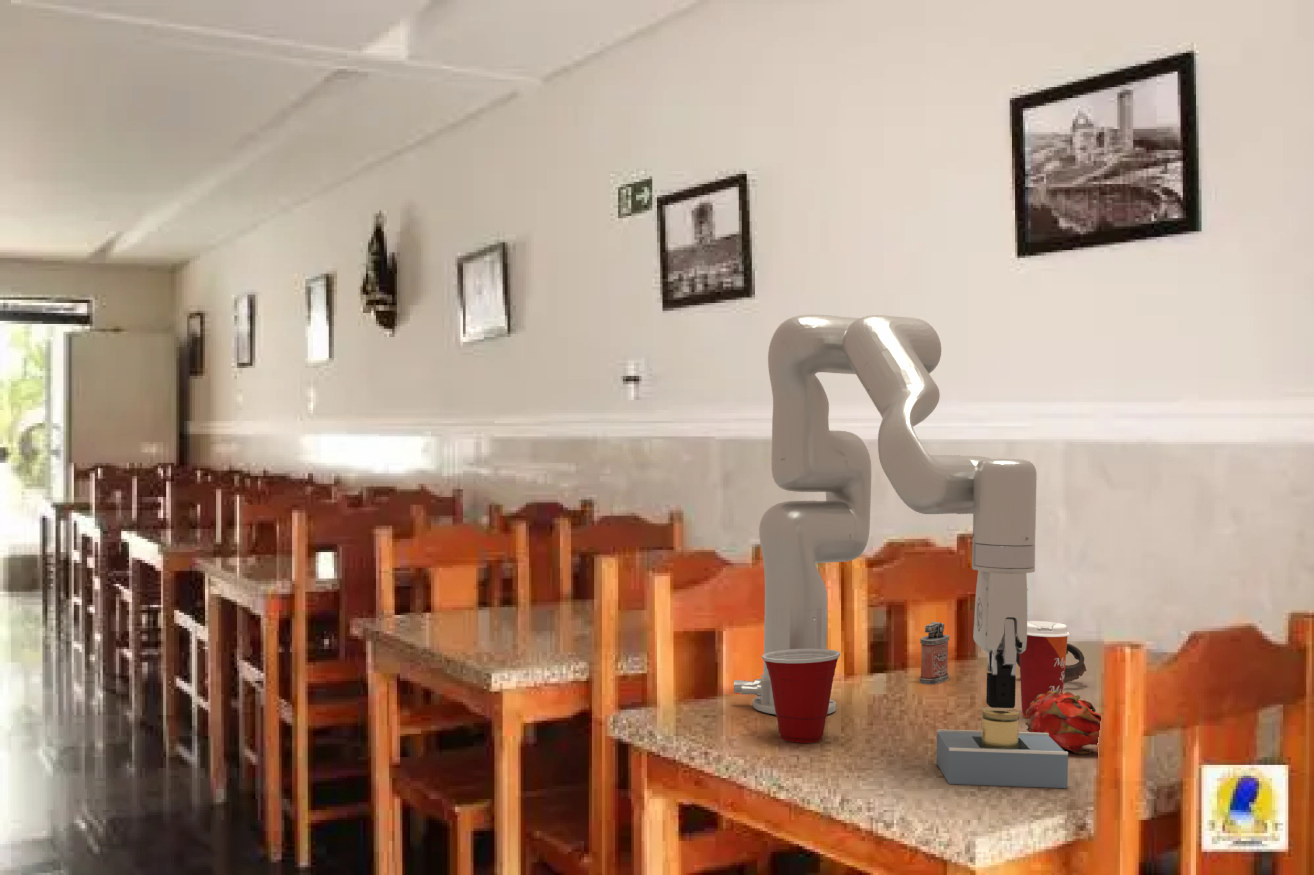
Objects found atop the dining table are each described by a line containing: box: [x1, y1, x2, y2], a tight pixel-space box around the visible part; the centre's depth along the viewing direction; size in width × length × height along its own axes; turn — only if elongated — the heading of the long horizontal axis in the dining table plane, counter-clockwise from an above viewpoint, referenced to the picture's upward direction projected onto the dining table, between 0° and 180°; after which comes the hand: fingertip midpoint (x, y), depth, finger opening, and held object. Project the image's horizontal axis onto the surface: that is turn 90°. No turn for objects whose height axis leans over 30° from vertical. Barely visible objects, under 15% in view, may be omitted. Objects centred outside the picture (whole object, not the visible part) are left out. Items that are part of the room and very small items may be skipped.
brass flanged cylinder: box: [981, 706, 1020, 749], centre depth 159 cm, size 4×4×8 cm
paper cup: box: [1019, 620, 1071, 719], centre depth 193 cm, size 8×8×14 cm
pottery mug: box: [1016, 643, 1087, 683], centre depth 220 cm, size 12×10×8 cm
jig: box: [935, 728, 1069, 789], centre depth 159 cm, size 14×10×4 cm
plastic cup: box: [761, 648, 841, 744], centre depth 176 cm, size 11×11×12 cm
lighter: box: [919, 621, 950, 685], centre depth 220 cm, size 8×3×10 cm, turn 144°
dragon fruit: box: [1024, 690, 1102, 755], centre depth 173 cm, size 8×8×12 cm
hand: (1000, 706), depth 159 cm, fingers closed
